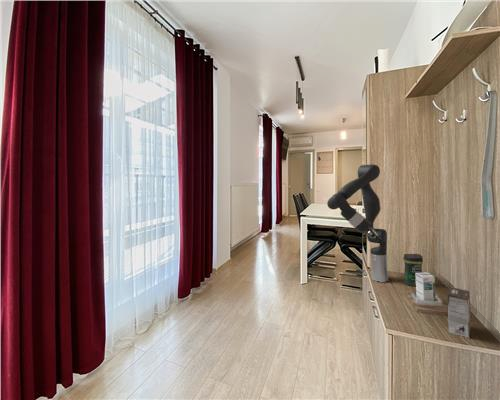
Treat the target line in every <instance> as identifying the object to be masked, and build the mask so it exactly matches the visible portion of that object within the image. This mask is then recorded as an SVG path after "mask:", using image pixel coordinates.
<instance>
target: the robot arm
mask: <svg viewBox="0 0 500 400" xmlns="http://www.w3.org/2000/svg"><path fill="white" fill-rule="evenodd" d="M380 173H381V169H380V167H379V165H377V164H363V165H360V166H358V169H357V178H355V179H353V180H351V181H349V182H348V183H346V184H345V185H343V186H342V187H341V188H340V189H339V190H338V191H337V192H336V193H333V195H332V196H331V197H330V198H329V199H328V200H327V202H326V203H327V207H328V208H329V209H330V210H337V209H339V210H340V211H341V212H340V215H341V217H343V218H344V219H345V220H346V221H347V222H348V223H349V224H350V225H351V226H352V227H353V228H354V229H356V230H357V231H358V232H359V233H364V232H365V233H366V238H367V241H368V242H369V243H374V244H379V245H378V246H374V247H371V248H370V272H371V280H372V281H374V280H375V281H374V282H377V281H379V282H378V283H386V281H387V282H388V279H389V278H388V252H387V251H388V244H387V243H388V234H387V230H386V229H383V228H374V222H375V221H376V219H377V218H378V215H379V214H380V212H381V202H380V198H379V196H378V195H377V193H376V192H375V191H374V190H373V188H372V185H371V182H373V181H375V180H376V179H378V178H379V176H380ZM359 190H361V197H362V203H363V205H362V206H363V211H364V215H365V217H364V216H363V214H361V213H359V212H358V211H357V210H355V208H353V206H351V205H350V203H349V202H348V199H350V198H351V197H352V196H353V195H354V194H355V193H357V192H358V191H359Z"/></svg>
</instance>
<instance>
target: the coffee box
mask: <svg viewBox="0 0 500 400" xmlns="http://www.w3.org/2000/svg"><path fill="white" fill-rule="evenodd" d="M470 300H471V299H470V291H469V290H466V289H463V288H462V289H460V288H456V287H452V286H451V287H449V290H448V293H447V306H448V315H447V317H448V333H450V334H453V335H456V336H459V335H461V336H460V337H462V336H465V337H464V338H466V337H468V338H467V339H470V335H471V333H470V332H471V306H470V305H471V304H470V303H471V301H470Z"/></svg>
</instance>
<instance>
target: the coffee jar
mask: <svg viewBox="0 0 500 400" xmlns="http://www.w3.org/2000/svg"><path fill="white" fill-rule="evenodd" d="M423 259H424V258H423V255H421V254H419V253H404V255H403V259H402V260H403V263H404V274H403V283H405V285H408V286H410V287H416V276H415V273H423V269H422V267H423V263H424V260H423Z"/></svg>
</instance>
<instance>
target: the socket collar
mask: <svg viewBox="0 0 500 400" xmlns="http://www.w3.org/2000/svg"><path fill="white" fill-rule="evenodd" d="M411 291H412V298H413V300H414V301H415V303H416V305H417V306H423V307H432V308H442V302H441V300H440V299H439V298H438V297H437V296H436V294H437V293H435V300H436V301H432V300H422V299H418V297H417V296H416V291H414V290H411Z"/></svg>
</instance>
